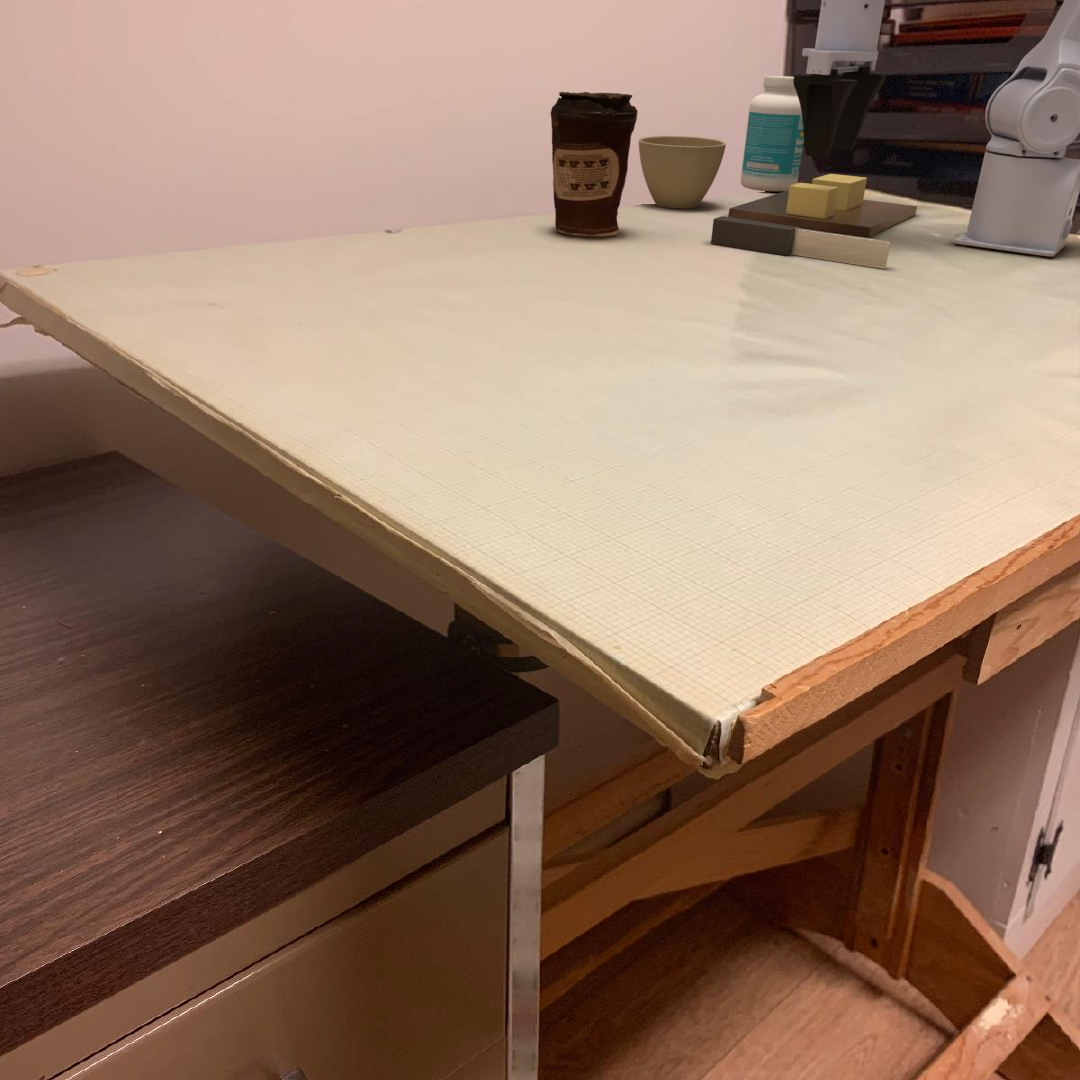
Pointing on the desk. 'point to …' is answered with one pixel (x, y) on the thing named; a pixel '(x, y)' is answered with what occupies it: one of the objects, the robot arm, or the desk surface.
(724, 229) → the knife
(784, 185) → the pill bottle
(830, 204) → the butter slice
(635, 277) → the desk surface
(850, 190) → the butter block
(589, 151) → the coffee cup
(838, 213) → the butter board
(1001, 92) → the robot arm
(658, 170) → the tan bowl
